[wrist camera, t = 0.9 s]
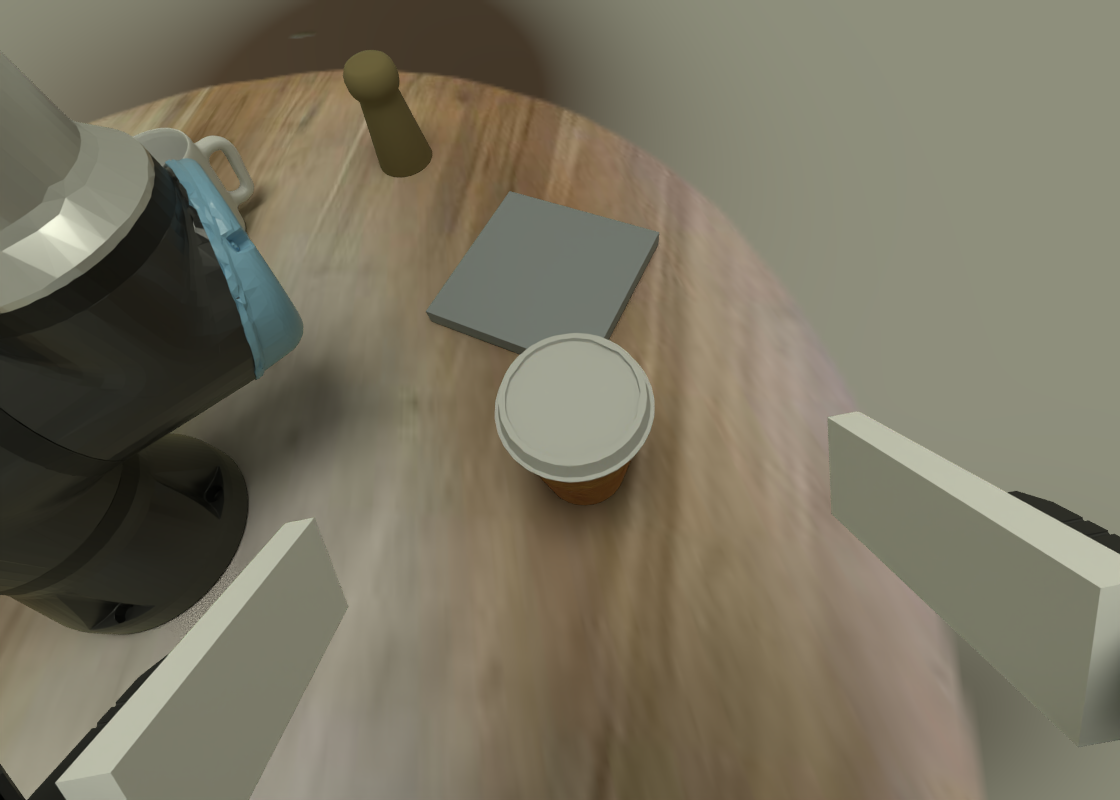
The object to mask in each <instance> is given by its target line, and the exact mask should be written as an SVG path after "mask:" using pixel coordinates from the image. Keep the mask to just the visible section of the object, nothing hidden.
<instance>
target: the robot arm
mask: <svg viewBox="0 0 1120 800" xmlns="http://www.w3.org/2000/svg"><path fill="white" fill-rule="evenodd" d="M302 334H303V322H302V319H301V317H300V315H299V313H298V311H297V310H296V308H295V306H294V305H293V303H292V302H291V300H290V298H289V297H288V295H287V294H286V292H285V291H284V289H283V288H282V286H281V284H280V283H279V281H278V280H277V278H276V277H275V275H274V274H273V272H272V271H271V269H270V268H269V266H268V265H267V263H266V262H265V260H264V259H263V257H262V256H261V254H260V253H259V251H258V250H257V248H256V247H255V245H254V244H253V243H252V241H251V240H250V239H249V237H248V235H247V233H246V232H245V230H244V229H243V227H242V226H241V224H240V223H239V221H238V220H237V218H236V216H235V215H234V213H233V212H232V210H231V209H230V207H229V206H228V204H227V203H226V201H225V200H224V198H223V197H222V195H221V194H220V192H219V191H218V190H217V188H216V187H215V185H214V184H213V182H212V181H211V179H210V178H209V176H208V175H207V174H206V172H205V171H204V169H203V168H202V167H201V165H200V164H199V163H198V162H196V161H195V160H193V159H189V158H184V159H181V160H173V159H172V160H171V161H170V159H169V160H168V161H166V162H165V165H164V166H163V167H162V166H161V165H160V163H159V162H158V161H157V160H156V159H155V158H154V157H153V156H152V155H151V154H150V153H149V152H148V151H147V149H146V148H145V147H144V146H143V145H142V144H141V143H140V142H139V141H137V140H136V139H135V138H133V137H132V136H130V135H129V134H127V133H125V132H122V131H119V130H116V129H112V128H107V127H102V126H96V125H91V124H85V123H80V122H75V121H73V120H71V119H70V118H68V117H67V116H66V115H65V114H64V113H63V112H62V111H61V110H60V109H59V108H58V107H57V106H56V105H55V104H54V103H53V102H52V101H51V100H50V99H49V98H48V97H47V96H46V95H45V94H44V93H43V92H42V91H41V90H40V89H39V88H38V87H37V86H36V85H35V84H34V83H33V82H32V81H31V80H29V78H28V77H27V76H26V75H25V74H24V73H23V72H21V70H20V69H19V68H17V66H16V65H15V64H14V63H12V62H11V60H9V58H8V57H7V56H5V54H3V53H2V52H1V51H0V595H7V596H10V597H12V598H13V599H15V600H17V601H19V602H21V603H23V604H25V605H26V606H28V607H30V608H32V609H34V610H36V611H37V612H39V613H41V614H43V615H45V616H47V617H49V618H50V619H52V620H54V621H56V622H58V623H60V624H62V625H64V626H66V627H68V628H71V629H74V630H78V631H82V632H88V633H101V634H118V635H119V634H132V633H137V632H142V631H145V630H148V629H151V628H154V627H157V626H159V625H161V624H163V623H165V622H167V621H169V620H171V619H173V618H174V617H176V616H178V615H179V614H181V613H182V612H184V611H185V610H186V609H188V608H189V607H190V606H192V605H193V604H194V603H195V602H196V601H198V600H199V599H200V598H201V597H202V596H203V595H204V594H205V593H206V592H207V591H208V590H209V589H210V588H211V587H212V586H213V584H214V583H215V582H216V581H217V580H218V578H219V577H220V576H221V574H222V573H223V571H224V570H225V569H226V567H227V565H228V564H229V562H230V560H231V559H232V557H233V555H234V553H235V551H236V549H237V547H238V544H239V542H240V539H241V537H242V534H243V530H244V527H245V522H246V517H247V506H248V499H247V490H246V485H245V481H244V478H243V476H242V474H241V472H240V470H239V468H238V467H237V465H236V464H235V463H234V461H233V460H232V459H231V458H230V457H229V456H227V455H226V454H225V453H223V452H222V451H220V450H218V449H216V448H215V447H213V446H211V445H209V444H207V443H205V442H203V441H201V440H199V439H196V438H193V437H190V436H186V435H180V434H172V433H170V432H172V431H173V430H175V429H176V428H178V427H180V426H181V425H183V424H184V423H186V422H187V421H189V420H191V419H192V418H194V417H195V416H197V415H199V414H200V413H202V412H203V411H205V410H207V409H208V408H210V407H211V406H213V405H214V404H216V403H218V402H219V401H221V400H222V399H224V398H226V397H227V396H229V395H230V394H232V393H234V392H235V391H237V390H238V389H240V388H241V387H243V386H245V385H246V384H248V383H249V382H251V381H253V380H254V379H255V380H257V379H259V378H260V377H261V376H263V374H264V371H265V370H266V369H268V368H269V367H270V366H272V365H273V364H274V363H276V362H277V361H278V360H280V359H281V358H283V357H284V356H285V355H287V354H288V353H289V352H291V351H292V350H293V349H295V348H296V346H297V345H298V343H299V341H300V339H301V337H302ZM828 441H829V464H830V488H831V512H832V515H833V516H834V517H835V518H836V519H838V520H839V521H840V522H841V523H842V524H843V525H844V526H845V527H846V528H847V529H848V530H849V531H850V532H851V533H852V534H853V535H854V536H856V537H857V538H858V539H859V540H860V541H861V542H862V543H863V544H864V545H865V546H866V547H867V548H868V549H869V550H870V551H871V552H872V553H873V554H875V555H876V556H877V557H878V558H879V559H880V560H881V561H882V562H883V563H884V564H885V565H886V566H887V567H888V568H889V569H890V570H891V571H892V572H894V573H895V574H896V575H897V576H898V577H899V578H900V579H901V580H902V581H903V582H904V583H905V584H906V585H907V586H908V587H909V588H910V589H912V590H913V591H914V592H915V593H916V594H917V595H918V596H919V597H920V598H921V599H922V600H923V601H924V602H925V603H926V604H927V605H928V606H929V607H931V608H932V609H933V610H934V611H935V612H936V613H937V614H938V615H939V616H940V617H941V618H942V619H943V620H944V621H945V622H946V623H947V624H949V625H950V626H951V627H952V628H953V629H954V630H955V631H956V632H957V633H958V634H959V635H960V636H961V637H962V638H963V639H964V640H965V641H966V642H968V643H969V644H970V645H971V646H972V647H973V648H974V649H975V650H976V651H977V652H978V653H979V654H980V655H981V656H983V658H985V659H986V660H987V661H988V662H989V663H990V664H991V665H992V666H993V667H994V668H995V669H996V670H997V671H998V672H999V673H1000V674H1001V675H1002V676H1003V677H1005V678H1006V679H1007V680H1008V681H1009V682H1010V683H1011V684H1012V685H1013V686H1014V687H1015V688H1016V689H1017V690H1018V691H1019V692H1020V693H1022V694H1023V695H1024V696H1025V697H1026V698H1027V699H1028V700H1029V701H1030V702H1031V703H1032V704H1033V705H1034V706H1035V707H1036V708H1037V709H1038V710H1039V711H1041V712H1042V713H1043V714H1044V715H1045V716H1046V717H1047V718H1048V719H1049V720H1050V721H1051V722H1052V723H1053V724H1054V725H1055V726H1056V727H1057V728H1059V729H1060V730H1061V731H1062V732H1063V733H1064V734H1065V735H1066V736H1067V737H1068V738H1069V739H1070V740H1071V741H1072V742H1073V743H1074V744H1075V745H1076V746H1077V747H1083V746H1087V745H1094V744H1099V743H1105V742H1110V741H1115V740H1120V537H1119V536H1118V535H1116V534H1111V535H1110V534H1109V533H1108V530H1106V529H1104V528H1102V527H1100V526H1098V525H1096V524H1094V523H1092V522H1090V521H1084V520H1083V518H1082V517H1081V516H1079V515H1077V514H1075V513H1073V512H1071V511H1069V510H1067V509H1065V508H1063V507H1061V506H1059V505H1057V504H1056V503H1054V502H1051V501H1047V500H1045V499H1041V498H1038V497H1035V496H1031V495H1028V494H1025V493H1021V492H1018V491H1014V492H1008V493H1007V492H1004V491H1003V490H1001V489H999V488H998V487H996V486H994V485H992V484H990V483H988V482H986V481H985V480H983V479H981V478H979V477H977V476H975V475H974V474H972V473H970V472H968V471H966V470H965V469H963V468H961V467H959V466H957V465H955V464H954V463H952V462H950V461H948V460H946V459H944V458H943V457H941V456H939V455H937V454H935V453H933V452H932V451H930V450H928V449H926V448H924V447H922V446H921V445H919V444H917V443H915V442H913V441H911V440H910V439H908V438H906V437H904V436H902V435H900V434H899V433H897V432H895V431H893V430H891V429H890V428H887V427H886V426H884V425H882V424H880V423H879V422H877V421H875V420H873V419H871V418H869V417H868V416H866V415H864V414H862V413H860V412H858V411H857V412H852V413H847V414H842V415H837V416H832V417H828ZM347 608H348V604H347V602H346V599H345V596H344V594H343V591H342V589H341V586H340V583H339V581H338V578H337V575H336V573H335V570H334V568H333V565H332V562H331V560H330V557H329V554H328V552H327V549H326V547H325V544H324V541H323V539H322V536H321V534H320V531H319V528H318V526H317V523H316V520H315V518H309V519H304V520H299V521H294V522H289V523H285V524H284V525H283V526H282V527H281V528H280V529H279V531H278V532H277V533H276V534H275V535H274V536H273V537H272V539H271V540H270V541H269V542H268V543H267V544H266V545H265V546H264V548H263V549H262V550H261V551H260V552H259V553H258V554H257V555H256V557H255V558H254V559H253V560H252V561H251V562H250V563H249V564H248V566H247V567H246V568H245V569H244V570H243V571H242V572H241V574H240V575H239V576H238V577H237V578H236V579H235V580H234V581H233V583H232V584H231V585H230V586H229V587H228V588H227V589H226V590H225V592H224V593H223V594H222V595H221V596H220V597H219V598H218V599H217V601H216V602H215V603H214V604H213V605H212V606H211V607H210V609H209V610H208V611H207V612H206V613H205V614H204V615H203V616H202V618H201V619H200V620H199V621H198V622H197V623H196V624H195V625H194V627H193V628H192V629H191V630H190V631H189V632H188V633H187V635H186V636H185V637H184V638H183V639H182V640H181V641H180V642H179V644H178V645H177V646H176V647H175V648H174V649H173V650H172V651H171V653H170V654H169V655H166V656H165V657H164V658H163V659H161V660H160V661H159V662H158V663H156V664H155V665H154V666H152V667H151V668H150V669H149V670H147V671H146V672H145V673H144V674H142V675H141V676H140V677H138V679H137V680H136V681H135V682H134V683H133V684H132V685H131V686H130V687H129V688H128V690H127V691H126V692H125V693H124V694H123V695H122V696H121V697H120V698H119V699H118V701H117V702H116V706H115V707H111V708H110V709H109V710H108V712H107V713H106V714H105V715H104V716H103V717H102V718H101V719H100V720H99V721H98V723H97V727H96V728H92V729H91V730H90V731H89V732H88V734H87V735H86V736H85V737H84V738H83V739H82V740H81V741H80V742H79V744H78V745H77V746H76V747H75V748H74V749H73V750H72V751H71V752H70V753H69V755H68V756H67V757H66V758H65V759H64V760H63V761H62V762H61V763H60V764H59V766H58V767H57V768H56V769H55V770H54V771H53V772H52V773H51V774H50V775H49V777H48V778H47V779H46V780H45V781H44V782H43V783H42V784H41V785H40V786H39V788H38V789H37V790H36V791H35V792H34V793H33V794H32V795H31V796H30V797H29V799H28V800H249V798H250V796H251V794H252V792H253V790H254V788H255V786H256V785H257V783H258V781H259V779H260V777H261V775H262V773H263V771H264V769H265V767H266V765H267V763H268V761H269V759H270V757H271V755H272V753H273V752H274V750H275V748H276V746H277V744H278V742H279V740H280V738H281V736H282V734H283V732H284V730H285V728H286V726H287V724H288V722H289V720H290V719H291V717H292V715H293V713H294V711H295V709H296V707H297V705H298V703H299V701H300V699H301V697H302V695H303V693H304V691H305V689H306V687H307V686H308V684H309V682H310V680H311V678H312V676H313V674H314V672H315V670H316V668H317V666H318V664H319V662H320V660H321V658H322V656H323V654H324V653H325V651H326V649H327V647H328V645H329V643H330V641H331V639H332V637H333V635H334V633H335V631H336V629H337V627H338V625H339V623H340V621H341V620H342V618H343V616H344V614H345V612H346V610H347ZM0 800H25V798H24V797H23V795H22V794H21V793H20V791H19V790H18V788H17V787H16V786H15V784H14V783H13V781H12V780H11V778H10V777H9V776H8V774H7V773H6V771H5V770H4V768H3V767H2V766H1V764H0Z"/></svg>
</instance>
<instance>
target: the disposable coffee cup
mask: <svg viewBox="0 0 1120 800" xmlns="http://www.w3.org/2000/svg"><path fill="white" fill-rule="evenodd" d="M653 418H654V396H653V392H652V387H651V384H650V382H649V380H648V378H647V376H646V374H645V372H644V371H643V370H642V368H641V367H640V365H639V364H638V363H637V362H636V361H635V360H634V359H633V358H632V357H631V356H630V355H629V353H628V352H626V351H625V350H624V349H622V348H621V347H620V346H619V345H617V344H615V343H613V342H612V341H610V340H607V339H605V338H602V337H600V336H596V335H591V334H583V333H570V334H562V335H556V336H552V337H549V338H546V339H544V340H541V341H539V342H537V343H536V344H534V345H532V346H530V347H529V348H528V349H526V350H525V351H524V352H523V353H522V354H520V355H519V356H518V357H517V358H516V359H515V361H514V362H513V363H512V364H511V365H510V367H509V369H508V370H507V372H506V374H505V376H504V378H503V381H502V383H501V386H500V388H499V391H498V394H497V398H496V401H495V422H496V426H497V431H498V434H499V436H500V439H501V441H502V443H503V445H504V447H505V448H506V450H507V451H508V452H509V454H510V455H511V456H512V457H513V458H514V459H515V460H516V461H517V462H518V463H519V464H520V465H522V466H523V467H524V468H526V469H527V470H528V471H530V472H532V473H534V474H537V475H538V476H540V478H541V479H542V480H543V481H544V482H545V483H546V484H547V485H548V486H549V487H550V488H551V489H552V490H553V491H554V492H555V493H556V494H557V495H558V496H559V497H560V498H562V499H563V500H565V501H567V502H570V503H573V504H576V505H591V504H596V503H599V502H602V501H604V500H606V499H608V498H609V497H610V496H611V495H613V494H614V493H615V492H616V491H617V489H618V488H619V487H620V485H621V483H622V481H623V479H624V476H625V473H626V471H627V469H628V467H629V464H630V462H631V460H632V458H633V457H634V456H635V455H636V453H637V452H638V451H639V449H640V448H641V447H642V445H643V444H644V443H645V441H646V439H647V436H648V434H649V432H650V430H651V426H652V422H653Z"/></svg>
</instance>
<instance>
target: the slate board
mask: <svg viewBox="0 0 1120 800" xmlns="http://www.w3.org/2000/svg"><path fill="white" fill-rule="evenodd" d="M658 241H659V232H656V231H652V230H649V229H645V228H642V227H638V226H634V225H631V224H627V223H623V222H620V221H616V220H612V219H609V218H605V217H602V216H598V215H594V214H591V213H587V212H583V211H580V210H576V209H572V208H569V207H565V206H562V205H558V204H554V203H551V202H547V201H543V200H540V199H536V198H532V197H529V196H525V195H522V194H518V193H514V192H511V191H510V192H509V193H508V195H507V196H506V197H505V199H504V200H503V202H502V203H501V205H500V206H499V207H498V209H497V210H496V212H495V213H494V215H493V216H492V217H491V219H490V220H489V222H488V223H487V225H486V226H485V227H484V229H483V230H482V232H481V233H480V235H479V236H478V237H477V239H476V240H475V242H474V243H473V245H472V246H471V247H470V249H469V250H468V252H467V253H466V255H465V256H464V257H463V259H462V260H461V262H460V263H459V265H458V266H457V267H456V269H455V270H454V272H453V273H452V275H451V276H450V277H449V279H448V280H447V282H446V283H445V285H444V286H443V288H442V289H441V290H440V292H439V293H438V295H437V296H436V298H435V299H434V300H433V302H432V303H431V305H430V306H429V308H428V309H427V310H426V313H427V314H428V316H429V318H430V320H431V321H432V322H435V323H438V324H440V325H443V326H446V327H448V328H451V329H454V330H456V331H459V332H462V333H464V334H467V335H470V336H472V337H475V338H478V339H480V340H483V341H486V342H488V343H491V344H494V345H496V346H499V347H502V348H504V349H507V350H510V351H512V352H515V353H518V354H522V353H523V352H524V351H525V350H526V349H528V348H529V347H530V346H532V345H534V344H536V343H537V342H539V341H541V340H544V339H546V338H549V337H552V336H556V335H562V334H570V333H583V334H591V335H596V336H600V337H602V338H605V339H607V340H609V338H610V336H611V334H612V332H613V330H614V328H615V326H616V324H617V322H618V320H619V319H620V317H621V315H622V313H623V311H624V309H625V307H626V305H627V303H628V301H629V299H630V297H631V295H632V293H633V292H634V290H635V288H636V286H637V284H638V282H639V280H640V278H641V276H642V274H643V272H644V270H645V268H646V267H647V265H648V263H649V261H650V259H651V257H652V255H653V253H654V251H655V249H656V247H657V245H658Z"/></svg>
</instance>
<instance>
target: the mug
mask: <svg viewBox="0 0 1120 800" xmlns="http://www.w3.org/2000/svg"><path fill="white" fill-rule="evenodd" d="M133 138H135V139H136V140H137V141H139V142H140V143H141V144H142V145H143V146H144V147H145V148H146V149H147V151H148V152H149V153H150V154H151V155H152V156H153V157H154V158H155V159H156V160H157V161H158V162H159V163H160V165H161V166H162V167H163V166H164V165H165V162H166V161H168V160H169V159H170V161H171V160H172V159H173V160H181V159H184V158H189V159H193V160H195V161H196V162H198V163H199V164H200V165H201V167H202V168H203V169H204V171H205V172H206V174H207V175H208V176H209V178H210V179H211V181H212V182H213V184H214V185H215V187H216V188H217V190H218V191H219V192H220V194H221V195H222V197H223V198H224V200H225V201H226V203H227V204H228V206H229V207H230V209H231V210H232V212H233V213H234V215H235V216H236V218H237V220H238V221H239V223H240V224H241V226H242V227H243V229H244V230H246V227H245V222H244V220H243V218H242V216H241V214H240V212H239V210H238V206H239V205H240V204H241V203H243V202H245V201H246V200H248V199H249V198H250V197H251V195H252V193H253V191H254V184H253V181H252V179H251V177H250V175H249V173H248V171H247V169H246V167H245V165H244V163H243V161H242V158H241V156H240V154H239V152H238V151H237V149H236V148H235V147H234V146H233V144H232V143H231V142H229V141H228V140H226V139H225V138H222V137H219V136H208V137H205V138H203V139H201V140H200V141H198V142H197V143H193V142H192V141H191V139H190V138H189V137H188V136H187V135H186V134H184V133H183V132H181V131H179V130H176V129H172V128H159V129H153V130H149V131H146V132H143V133H140V134H138V135H135V136H133ZM217 150H221V151H222V152H223V153H224V154H225V156H226V157H227V159H228V161H229V163H230V165H231V166H232V168H233V170H234V172H235V174H236V175H237V177H238V179H239V181H240V187H239V188H238V189H237V190H235V191H227V190H226V189H225V187H224V185H223V184H222V182H221V181H220V179H219V178H218V176H217V175H216V173H215V172H214V170H213V169H212V167H211V165H210V163H209V157H210V155H211V154H212V153H213V152H215V151H217Z"/></svg>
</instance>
